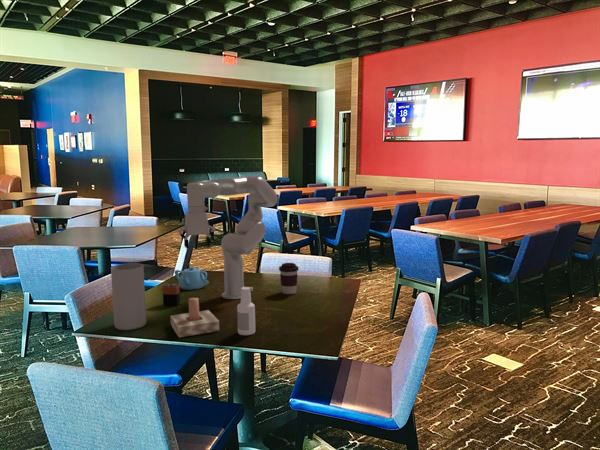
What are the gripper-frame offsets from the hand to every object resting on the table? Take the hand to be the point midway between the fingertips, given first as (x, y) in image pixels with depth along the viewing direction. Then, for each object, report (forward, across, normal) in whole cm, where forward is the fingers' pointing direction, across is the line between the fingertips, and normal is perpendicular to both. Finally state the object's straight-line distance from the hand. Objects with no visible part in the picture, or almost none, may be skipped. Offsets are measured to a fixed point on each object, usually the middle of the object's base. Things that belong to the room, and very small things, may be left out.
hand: (197, 247), depth 218 cm
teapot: (+29, -5, -38) cm, 48 cm away
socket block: (+28, +9, +27) cm, 40 cm away
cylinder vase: (+28, +32, +12) cm, 44 cm away
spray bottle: (+28, -8, +42) cm, 51 cm away
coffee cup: (+28, -47, -3) cm, 55 cm away
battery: (+28, +11, -10) cm, 32 cm away
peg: (+28, +9, +27) cm, 40 cm away
